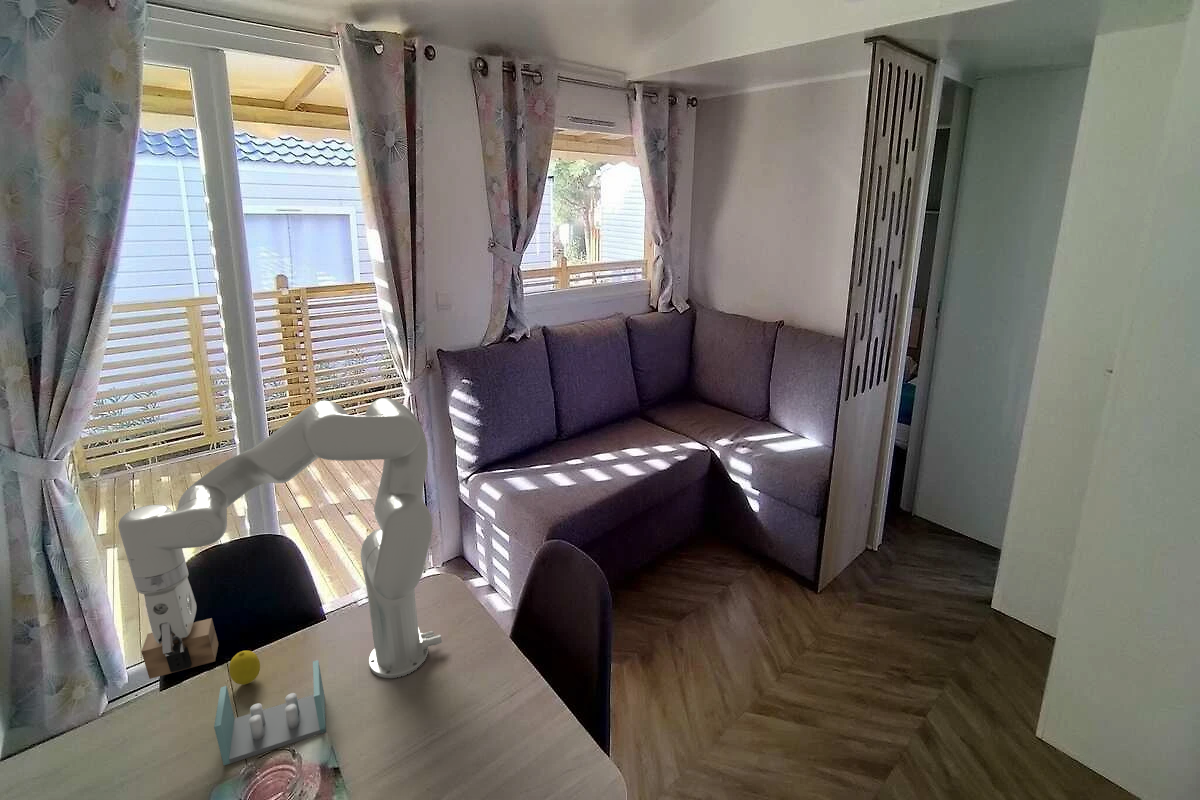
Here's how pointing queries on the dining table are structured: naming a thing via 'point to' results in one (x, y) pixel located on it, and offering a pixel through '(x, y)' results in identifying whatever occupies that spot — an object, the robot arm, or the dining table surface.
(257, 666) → the lemon
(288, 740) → the peg frame
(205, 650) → the brown wooden block
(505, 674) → the dining table surface
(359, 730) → the dining table surface
